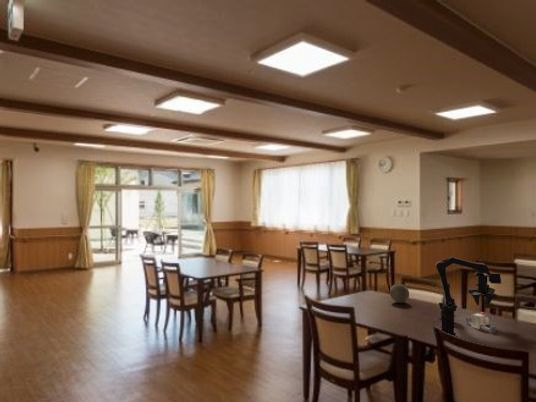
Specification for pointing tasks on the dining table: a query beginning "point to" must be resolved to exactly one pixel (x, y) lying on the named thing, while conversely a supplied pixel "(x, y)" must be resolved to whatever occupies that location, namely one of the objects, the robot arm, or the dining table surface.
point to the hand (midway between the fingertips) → (482, 306)
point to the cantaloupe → (399, 293)
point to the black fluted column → (448, 318)
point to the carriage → (478, 320)
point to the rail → (491, 329)
